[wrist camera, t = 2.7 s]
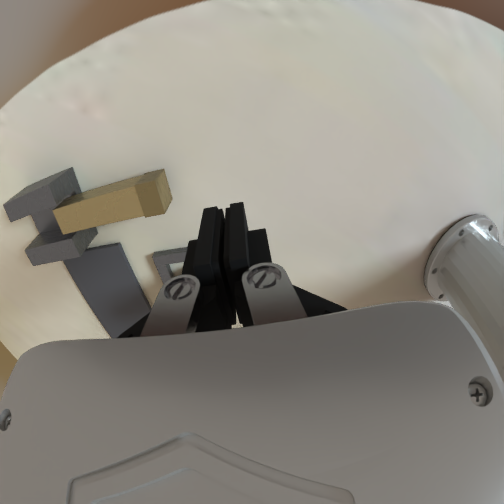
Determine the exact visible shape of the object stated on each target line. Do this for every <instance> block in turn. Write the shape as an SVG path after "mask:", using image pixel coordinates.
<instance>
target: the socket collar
mask: <svg viewBox="0 0 504 504" xmlns="http://www.w3.org/2000/svg"><path fill="white" fill-rule="evenodd" d="M186 252H187V247H185V248H179V249H172V250H166V251H159V252H154V254H153V257H152V258H153V260H154V263H155V265H156V267H157V270H158V272H159V275H160V277H161V279H162V281H163V284H165V283H166V282H167V281H168V280H170V279H171V278H173V277H174V276H173V273H172V271H171V268H170V266H169V264H171V263H178V262H184V261H185V256H186Z"/></svg>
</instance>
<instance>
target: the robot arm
mask: <svg viewBox="0 0 504 504" xmlns="http://www.w3.org/2000/svg"><path fill="white" fill-rule="evenodd" d="M424 282H425V286H426V289H427V291H428V292H429V294H430V295H431V296H432V297H433V298H434V299H436V300H438V301H449V302H450V304H451V305H452V307H453V308H454V309H453V308H451V307H449V306H446V305H443V304H440V303H435V302H426V301H399V302H391V303H384V304H378V305H373V306H368V307H362V308H357V309H351V310H348V309H346V308H344V307H342V306H340V305H338V304H335V303H333V302H331V301H328V300H326V299H324V298H321V297H319V296H317V295H315V294H312V293H310V292H308V291H305V290H303V289H301V288H299V287H296V286H294V285H292V283H291V281H290V279H289V277H288V275H287V273H286V271H285V270H284V269H283V267H281V266H280V265H278V264H274V263H272V260H271V255H270V250H269V245H268V239H267V234H266V229H258V230H252V231H248V226H247V220H246V215H245V209H244V204H243V202H239V203H233V204H230V208H226V213H225V218H224V214H223V210H222V209H218V208H217V206H216V207H210V208H205V209H204V210H203V215H202V220H201V225H200V230H199V235H198V239H197V240H191V241H189V243H188V247H187V252H186V256H185V261H184V265H183V270H182V275H179V276H176V277H173V278H171V279H170V280H168V281H167V282H166V283H165V284H164V285H163V286H162V288H161V289H160V292H159V294H158V296H157V298H156V300H155V303H154V305H153V307H152V310H151V312H149V313H148V314H147V315H145V316H144V317H143V318H141V319H140V320H139V321H137V322H136V323H135V324H134V325H132V326H131V327H130V328H128V329H127V330H126V331H124V332H123V333H122V334H120V335H119V336H118V337H117V338H111V339H79V340H60V341H53V342H48V343H44V344H40V345H38V346H36V347H33V348H31V349H30V350H28V351H26V352H25V353H24V354H22V355H21V357H20V358H19V360H18V361H17V363H16V365H15V367H14V369H13V370H12V373H11V375H10V377H9V379H8V382H7V385H6V388H5V390H4V393H3V396H2V399H1V402H0V504H504V247H503V246H502V245H501V244H500V243H499V233H498V230H497V227H496V225H495V224H494V222H492V221H491V220H490V219H489V218H488V217H486V216H484V215H472V216H469V217H466V218H464V219H463V220H461V221H459V222H457V223H456V224H455V225H454V226H453V227H451V228H450V229H449V230H448V231H447V232H446V233H445V234H444V235H443V237H442V238H441V239H440V241H439V242H438V243H437V245H436V246H435V248H434V250H433V251H432V253H431V255H430V258H429V260H428V262H427V266H426V269H425V275H424ZM236 312H237V315H238V319H239V322H240V324H243V327H241V328H233V329H232V325H235V324H236Z"/></svg>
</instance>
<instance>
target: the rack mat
mask: <svg viewBox="0 0 504 504" xmlns="http://www.w3.org/2000/svg"><path fill="white" fill-rule="evenodd" d="M63 262H64V264H65V265H66V267H67V269H68V271H69V273H70V274H71V276H72V278H73V280H74V281H75V283H76V285H77V286H78V288H79V290H80V291H81V293H82V295H83V296H84V298H85V299H86V301H87V303H88V304H89V306H90V307H91V309H92V310H93V312H94V313H95V315H96V316H97V318H98V319H99V321H100V322H101V324H102V325H103V327H104V328H105V329H106V331H107V332H108V334H109V335H110V336H111V338H117V337H118V336H119V335H120V334H122V333H123V332H124V331H126V330H127V329H128V328H130V327H131V326H132V325H134V324H135V323H136V322H137V321H139V320H140V319H141V318H143V317H144V316H145V315H147V314H148V313H149V312H151V310H152V308H151V307H150V305H149V303H148V301H147V299H146V297H145V295H144V293H143V291H142V289H141V287H140V285H139V283H138V281H137V279H136V277H135V275H134V273H133V270H132V268H131V266H130V264H129V262H128V260H127V258H126V255H125V253H124V251H123V249H122V246H121V244H120V243H115V244H109V245H104V246H99V247H94V248H89V249H86V250H85V251H84V253H83V254H82V255H81V257H77V258H72V259H66V260H63Z"/></svg>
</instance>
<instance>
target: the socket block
mask: <svg viewBox="0 0 504 504" xmlns="http://www.w3.org/2000/svg"><path fill="white" fill-rule="evenodd" d="M80 193H82V192H81V190H80V187H79V184H78V182H77V179H76V176H75V173H74V170H73V167H71V168H69V169H66V170H64V171H61V172H59V173H57V174H54V175H52V176H49V177H47V178H45V179H43V180H40V181H38V182H36V183H34V184H32V185H29V186H27V187H26V188H24V189H23V190H22V191H20V192H19V193H18V194H16V195H15V196H14V197H12V198H11V199H10V200H9V201H7V202H6V203H5V204H4V205H3V206H4V208H5V211H6V213H7V215H8V217H9V220H10V222H13V221H15V220H18V219H21V218H23V217H26V216H28V215H31V216H32V218H33V220H34V222H35V224H36V227H37V229H38V231H39V233H40V234H39V235H38V236H37V237H36V238H35V239H34V240H33V241H32V243H31V244H30V245H29V246H28V247H27V248H26V249H25V252H26V254H27V256H28V258H29V260H30V261H31V263H32V265H33V266H36V265H41V264H46V263H51V262H56V261H61V260H66V259H72V258H77V257H81V255H82V254H83V253H84V251H85V250H86V248H87V247H88V246H89V244H90V243H91V241H92V240H93V239H94V237H95V236H96V235H97V233H98V232H97V230H96V227H92V228H88V229H84V230H80V231H76V232H72V233H68V234H64V235H63V233H62V231H61V229H60V227H59V224H58V222H57V220H56V218H55V215H54V213H53V211H52V210H53V209H54V208H56V207H57V206H58V205H59V204H60V203H61V202H62V201H63V200H64V199H65V198H68V197H71V196H74V195H77V194H80Z"/></svg>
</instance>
